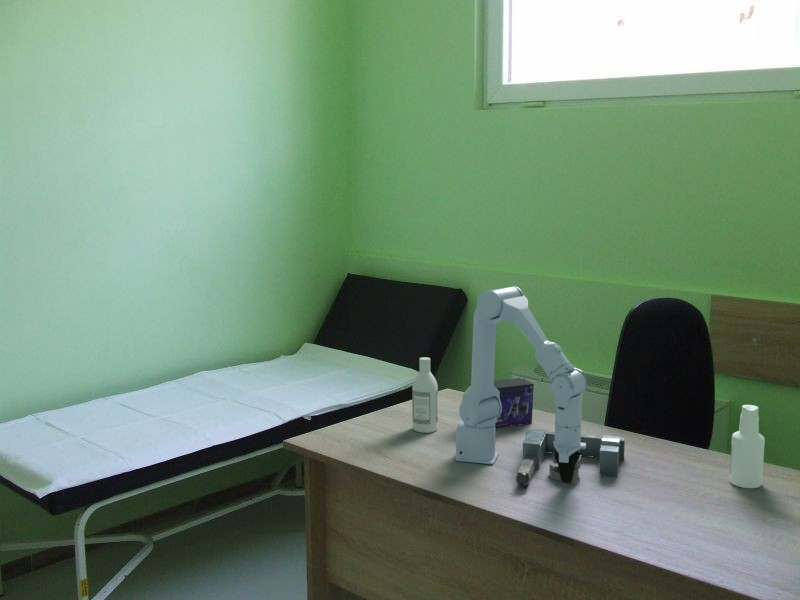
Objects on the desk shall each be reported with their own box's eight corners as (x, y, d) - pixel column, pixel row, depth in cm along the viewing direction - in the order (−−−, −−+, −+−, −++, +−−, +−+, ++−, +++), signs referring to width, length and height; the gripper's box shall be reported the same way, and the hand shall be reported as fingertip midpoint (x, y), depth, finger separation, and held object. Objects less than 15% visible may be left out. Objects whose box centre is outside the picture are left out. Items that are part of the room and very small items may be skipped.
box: (478, 431, 224) (479, 389, 222) (468, 424, 230) (468, 383, 228) (533, 423, 230) (534, 382, 228) (521, 416, 236) (522, 376, 234)
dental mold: (591, 479, 191) (591, 459, 190) (569, 486, 187) (569, 465, 186) (566, 469, 197) (567, 449, 196) (545, 475, 194) (545, 455, 193)
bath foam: (427, 423, 231) (426, 354, 228) (443, 429, 226) (442, 358, 222) (407, 428, 227) (406, 358, 223) (423, 435, 222) (422, 362, 218)
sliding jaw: (512, 488, 185) (512, 463, 184) (529, 451, 208) (529, 428, 207) (530, 490, 184) (531, 465, 183) (545, 452, 207) (546, 429, 206)
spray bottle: (760, 479, 189) (765, 403, 186) (762, 490, 183) (768, 412, 180) (728, 475, 192) (733, 401, 188) (729, 487, 185) (734, 410, 182)
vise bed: (518, 466, 199) (518, 439, 198) (527, 448, 211) (527, 422, 210) (621, 476, 192) (622, 449, 190) (624, 457, 204) (625, 431, 203)
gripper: (583, 436, 175) (581, 496, 178) (589, 415, 189) (587, 471, 191) (549, 433, 178) (548, 492, 180) (558, 412, 191) (556, 468, 194)
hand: (566, 481), depth 186 cm, fingers closed
